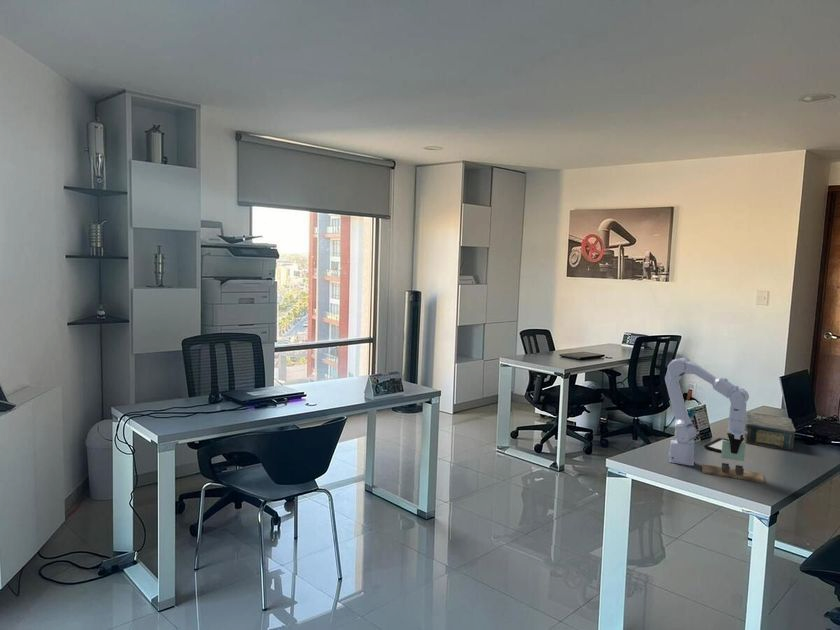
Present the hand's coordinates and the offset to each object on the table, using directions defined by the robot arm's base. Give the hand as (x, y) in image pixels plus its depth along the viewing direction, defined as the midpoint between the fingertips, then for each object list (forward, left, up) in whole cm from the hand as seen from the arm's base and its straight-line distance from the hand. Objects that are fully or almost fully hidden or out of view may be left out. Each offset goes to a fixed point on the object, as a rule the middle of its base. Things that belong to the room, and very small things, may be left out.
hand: (733, 452), depth 242 cm
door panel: (0, 0, -3) cm, 3 cm away
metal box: (+22, +71, -10) cm, 75 cm away
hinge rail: (0, 0, -9) cm, 9 cm away
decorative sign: (+2, +41, -10) cm, 42 cm away
